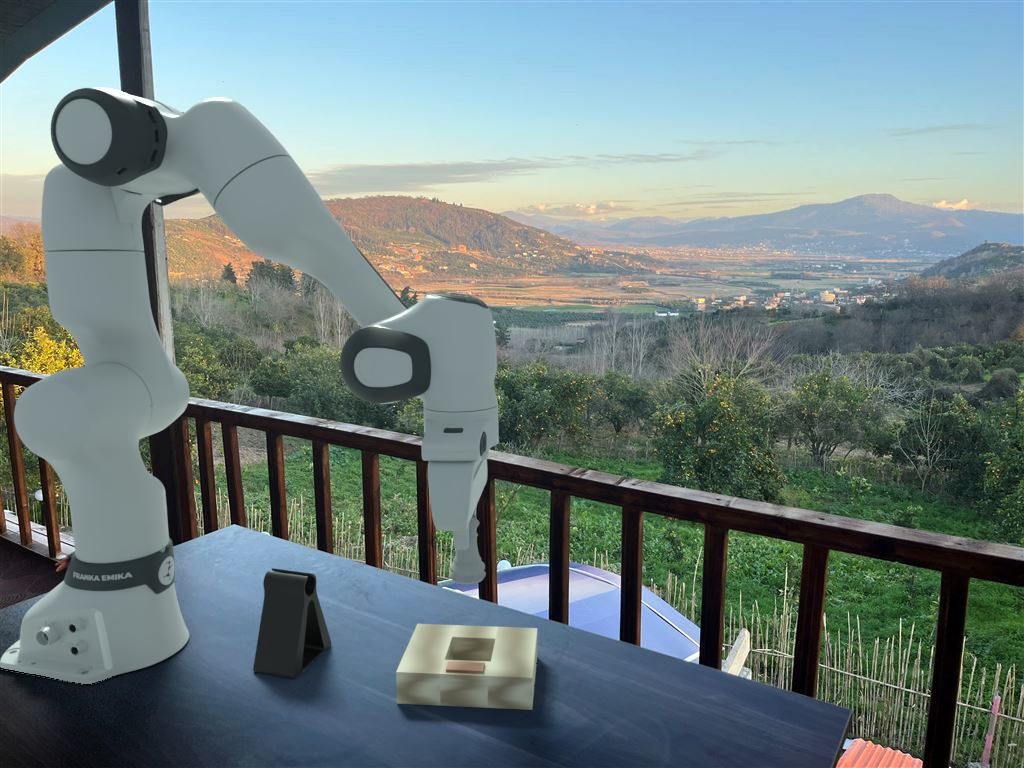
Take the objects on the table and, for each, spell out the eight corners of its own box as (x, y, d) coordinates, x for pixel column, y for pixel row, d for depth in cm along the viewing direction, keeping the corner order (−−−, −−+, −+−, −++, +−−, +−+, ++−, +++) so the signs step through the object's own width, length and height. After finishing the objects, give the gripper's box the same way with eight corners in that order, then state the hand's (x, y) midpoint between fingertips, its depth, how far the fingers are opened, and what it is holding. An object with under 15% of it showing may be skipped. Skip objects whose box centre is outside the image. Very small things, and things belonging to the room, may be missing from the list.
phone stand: (293, 639, 101) (289, 557, 100) (331, 645, 100) (328, 562, 98) (252, 672, 93) (247, 583, 91) (293, 680, 91) (289, 589, 89)
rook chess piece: (480, 587, 87) (478, 522, 86) (444, 584, 88) (442, 520, 87) (489, 572, 91) (488, 510, 90) (455, 570, 92) (453, 508, 91)
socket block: (396, 703, 86) (396, 669, 85) (418, 651, 98) (417, 621, 97) (532, 709, 85) (532, 675, 84) (537, 656, 97) (537, 626, 96)
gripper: (449, 413, 97) (453, 513, 99) (417, 449, 77) (422, 573, 79) (496, 413, 97) (499, 513, 99) (476, 449, 76) (480, 574, 78)
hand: (465, 541), depth 89 cm, fingers closed on rook chess piece, 3 cm apart
